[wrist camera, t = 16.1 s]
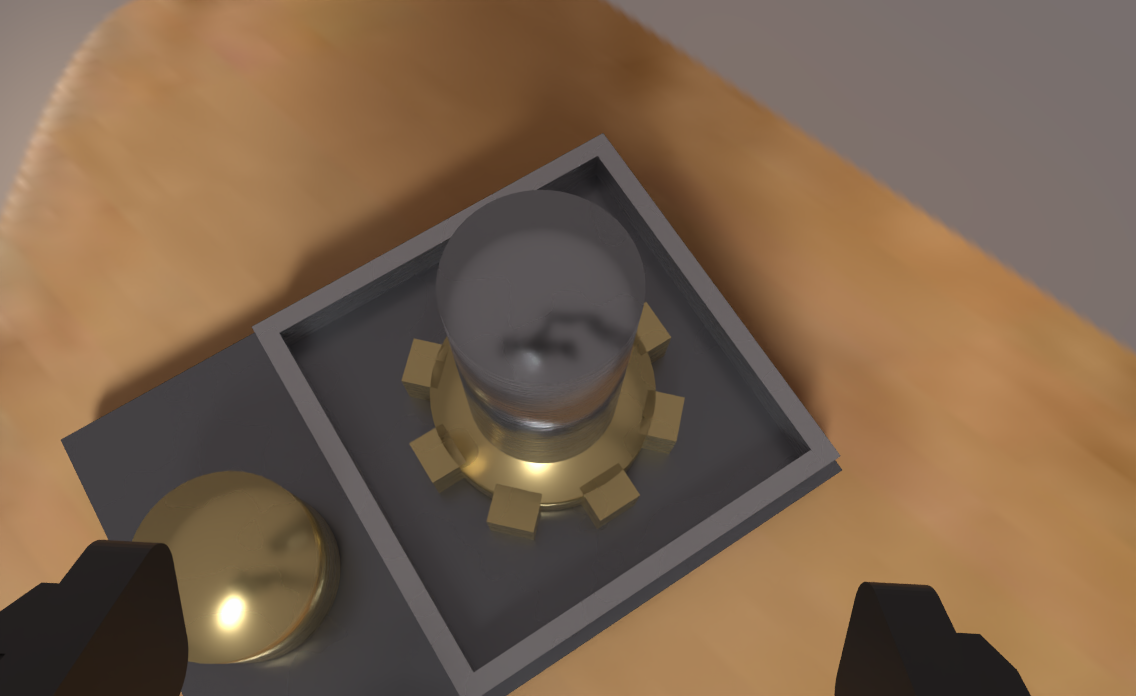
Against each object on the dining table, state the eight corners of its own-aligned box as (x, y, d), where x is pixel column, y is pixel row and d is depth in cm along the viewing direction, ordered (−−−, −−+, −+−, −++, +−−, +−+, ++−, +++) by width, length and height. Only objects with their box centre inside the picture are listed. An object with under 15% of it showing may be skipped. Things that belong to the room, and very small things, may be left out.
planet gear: (583, 238, 25) (597, 55, 17) (727, 444, 23) (813, 342, 16) (362, 364, 24) (276, 227, 16) (498, 592, 22) (472, 558, 14)
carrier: (599, 162, 27) (606, 88, 24) (828, 479, 24) (875, 448, 21) (83, 450, 24) (4, 414, 21) (277, 848, 21) (223, 886, 18)
